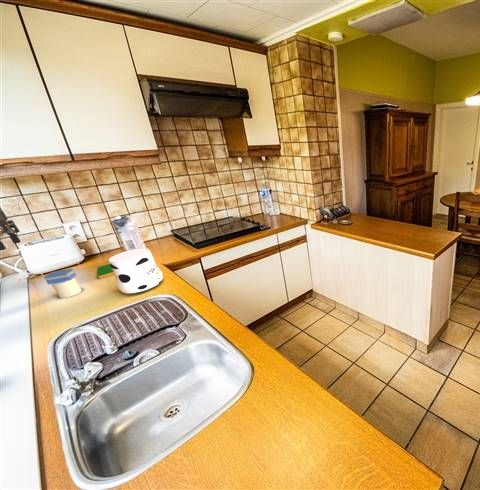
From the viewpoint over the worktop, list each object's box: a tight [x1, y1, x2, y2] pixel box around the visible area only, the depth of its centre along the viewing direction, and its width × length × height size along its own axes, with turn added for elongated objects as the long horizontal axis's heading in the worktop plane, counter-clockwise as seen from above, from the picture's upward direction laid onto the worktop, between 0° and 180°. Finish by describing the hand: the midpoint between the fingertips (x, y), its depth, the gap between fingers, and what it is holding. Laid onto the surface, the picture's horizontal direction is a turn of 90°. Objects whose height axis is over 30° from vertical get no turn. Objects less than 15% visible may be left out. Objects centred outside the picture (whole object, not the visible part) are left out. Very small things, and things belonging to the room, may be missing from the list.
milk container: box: [108, 247, 164, 295], centre depth 128 cm, size 17×17×18 cm
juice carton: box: [111, 215, 147, 252], centre depth 162 cm, size 9×10×27 cm
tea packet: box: [43, 268, 77, 285], centre depth 126 cm, size 8×5×4 cm, turn 112°
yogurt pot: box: [50, 277, 82, 299], centre depth 128 cm, size 8×8×8 cm
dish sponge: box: [96, 263, 115, 280], centre depth 148 cm, size 7×14×2 cm, turn 44°
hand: (10, 246), depth 120 cm, fingers open, 8 cm apart
